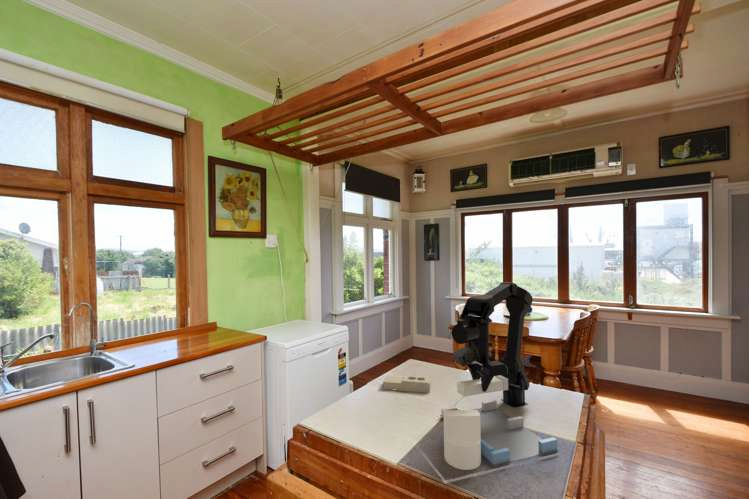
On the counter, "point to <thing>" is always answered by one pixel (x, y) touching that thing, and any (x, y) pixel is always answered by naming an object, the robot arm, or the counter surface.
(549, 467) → the counter surface
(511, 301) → the robot arm
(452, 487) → the counter surface
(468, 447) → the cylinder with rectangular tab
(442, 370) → the counter surface
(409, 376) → the electrical outlet
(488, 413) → the board
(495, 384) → the long cream plank
